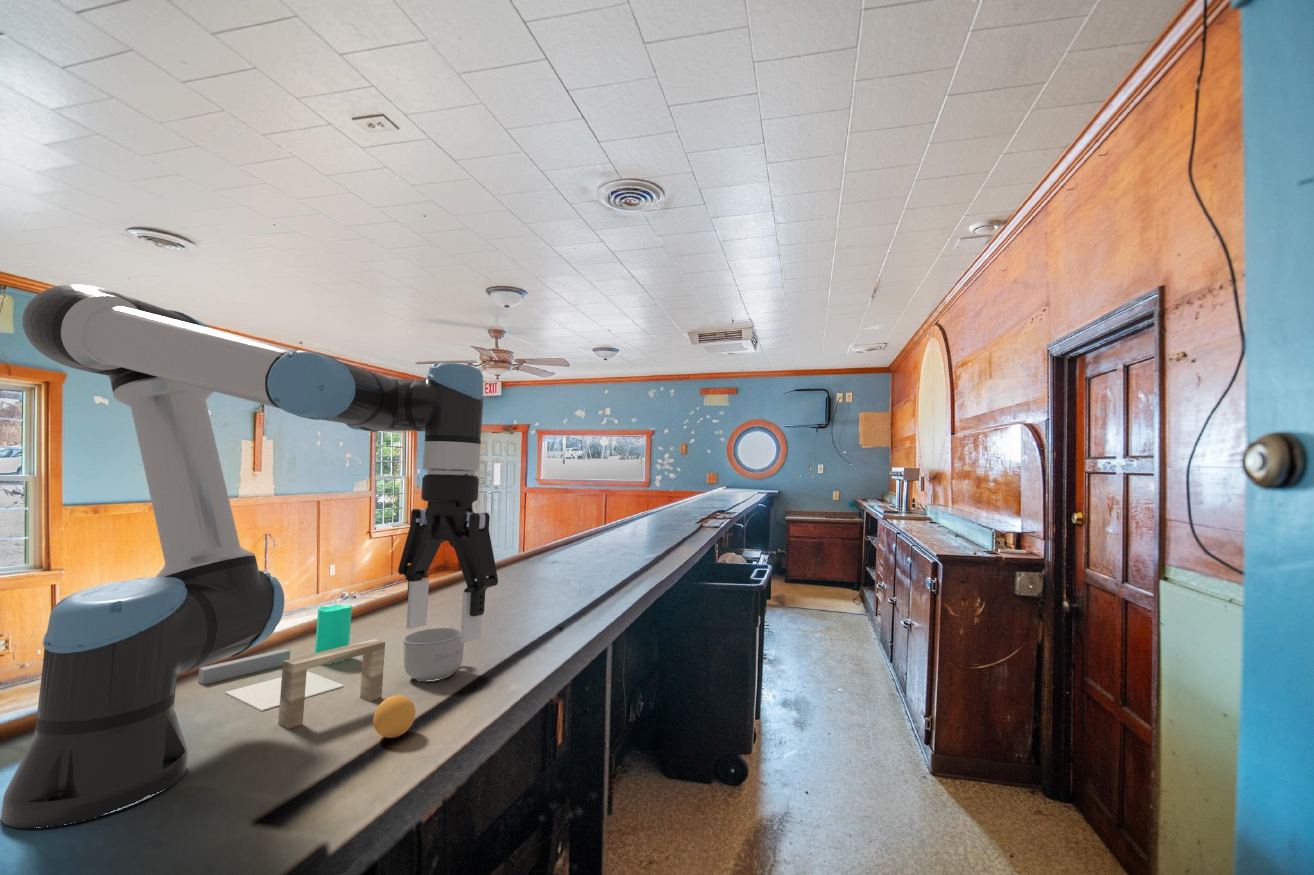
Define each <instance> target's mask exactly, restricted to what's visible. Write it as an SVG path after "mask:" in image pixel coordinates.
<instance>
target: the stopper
mask: <svg viewBox="0 0 1314 875" xmlns="http://www.w3.org/2000/svg"><path fill="white" fill-rule="evenodd" d="M288 659H291V650H289V649H287V648H284V649H279V650H274V651H270V652H266V653H261V654H256V655H251V656H248V657H242V658H238V659H234V660H229V661H224V662H220V663H216V664H209V665H206V666H203V667H200V668H198V669H199V670H198V680H197V681H198V682H197V683H198V684H201V685H207V684H212V683H215V682H220V681H223V680H228V679H233V678H237V677H240V676H245V675H249V674H253V673H257V672H261V671H265V670H269V669H274V668H278V667H281V666H282V667H283V661H284V660H288Z"/></svg>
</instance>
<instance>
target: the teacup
mask: <svg viewBox="0 0 1314 875" xmlns="http://www.w3.org/2000/svg"><path fill="white" fill-rule="evenodd" d="M460 639H461V627H460V628H459V627H454V626H453V625H446V626H442V627H432V628H426V629H421V630H418V631H414V632H411V633H409V634H407V635H405V636H404V637H403V638H402V642H403V665H404V670H405V673H406V674H407V675H408V676H410V677H411V678H413V679H414V680H415V679H417V680H420V681H427V680H435V679H441V678H444V677H447V678H449V677H450V676H449V675H451V674H452V675H453V674H454V673H455V672H456V671H457V670H458V669H459V668H460V666H462V663H463V660H464V646H465V645H464V644H465V643H462V642H460ZM452 675H451V676H452ZM448 676H449V677H448ZM417 680H416V681H417ZM420 681H419V682H420Z"/></svg>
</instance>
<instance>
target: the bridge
mask: <svg viewBox="0 0 1314 875" xmlns="http://www.w3.org/2000/svg"><path fill="white" fill-rule="evenodd" d="M385 648H386V641H383V640H380V639H376V638H373V639H370V640H366V641H361V642H357V643H353V644H349V645H347V646H343V647H339V648H335V649H331V650H326V651H322V652H318V653H315V652H314V653H309V654H306V655H301V656H298V657H293V658H290V659H288V660H284V661H283V665H282V669H281V670H282V671H281V677H282V681H281V694H280V706H278V708H279V709H278V721H277V725H280V726H281V727H283V728H285V729H287V730H289V729H292V728H296V727H299V726H301V725H303V724H304V714H305V713H304V712H305V700H306V698H305V687H306V674H307V671H308V670H310V669H313V668H317V667H320V666H324V665H330V664H329V663H333V662H337V661H341V660H344V659H347V660H348V659H353V658H355V657H356V658H357V657H359V656H362V661H361V662H362V664H361V675H360V676H361V677H360V690H359V691H360V692H359V698H361V699H363V700H366V701H368V702H373V701H375V699H376V700H378V698H379V699H381V698H380V697H382V694H383V683H384V682H383V680H384V665H385ZM372 700H373V701H372Z"/></svg>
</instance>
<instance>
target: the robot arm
mask: <svg viewBox="0 0 1314 875" xmlns="http://www.w3.org/2000/svg"><path fill="white" fill-rule="evenodd" d="M22 329H23V331H24V335H25V336H26V338H27V340H28V341H29V343H30V344H31V345H32V347H34V349H36V350H37V351H38V352H39V353H40V354H42V355H43V356H45V357H46V358H48V359H50V360H51V361H54V362H56V363H57V364H60V365H63V366H66V367H69V368H71V369H76V370H79V371H86V372H89V373H95V374H98V375H102V376H108V378H109V381H110V385H111V390H112V393H113V397H114V399H115V400H116V401H118V402H120V403H122V404H124V405H126V406H128V407H130V409H131V414H132V419H133V424H134V428H135V429H134V430H135V432H136V433H135V434H136V436H137V440H138V446H139V450H140V454H141V455H140V456H141V460H142V465H143V469H144V473H145V474H144V475H145V478H146V482H147V483H146V484H147V487H148V488H147V489H148V493H149V496H150V500H151V501H150V502H151V506H152V511H153V515H154V518H155V523H156V528H157V533H158V538H159V541H160V542H159V543H160V547H161V551H162V556H163V561H164V566H163V567H162V569H161V570H160V571H159V572H158V573H157V574H156V575H155V576H154V577H153V576H151V577H150V576H149V577H148V576H147V577H140V578H133V579H130V580H119V581H118V580H117V581H112V582H109V583H108V582H107V583H104V584H98V585H96V586H95V585H94V586H92V587H91V586H90V587H88V588H85V589H82V590H79V591H77V592H73V593H72V594H69V595H67V596H65V597H63V599H61V600H59V602H57V604H55V606H54V607H53V609H52V610H51V612H50V615H49V618H48V623H47V628H46V629H47V630H46V633H45V634H44V637H43V639H42V646H43V648H44V649H43V659H42V670H41V677H40V679H41V680H40V685H39V686H40V687H39V696H38V702H37V703H38V704H37V712H36V720H35V730H34V736H33V738H32V740H31V742H30V744H29V746H28V747H27V750H26V752H25V753H24V755H23V757H22V759H21V761H20V763H19V765H18V767H17V768H16V770H15V772H14V775H13V777H12V778H11V780H10V781H9V784H8V785H7V787H6V790H5V792H4V794H3V798H2V804H1V806H2V807H1V812H0V820H1V822H2V823H3V824H4V825H6V826H8V827H11V826H12V827H11V828H16V829H23V828H36V827H37V828H38V827H41V828H40V829H43V828H42V827H47V826H48V827H50V828H52V827H51V826H58V827H62V826H61V825H64V824H70V823H74V822H79V823H82V822H81V821H83V820H88V821H91V820H90V819H92V820H95V819H94V818H95V817H99V816H101V815H103V814H105V813H109V812H111V811H113V810H117V809H118V808H122V807H124V806H127V805H129V804H132V803H135V802H136V801H139V800H141V799H143V798H144V797H146V796H148V795H152V794H156V793H157V792H160V791H162V790H164V789H166V788H168V789H170V787H173V786H174V785H175V784H176V783H178V781H180V780H181V779H182V777H183V776H184V775H185V773H186V770H187V765H188V755H189V754H188V752H189V751H188V747H187V746H188V745H187V744H186V740H185V738H184V735H183V732H182V729H181V725H180V723H179V720H178V717H177V714H176V711H175V710H176V709H175V701H176V700H175V699H176V690H177V688H176V687H177V680H178V676H180V675H183V674H185V673H188V672H189V673H190V672H191V671H194V670H196V669H197V670H198V669H199V668H201V667H206V666H210V665H212V664H213V663H217V662H221V661H223V660H224V659H230V658H233V657H236V656H240V655H241V654H243V653H245V652H246V651H249V650H251V649H253V648H255V647H258V646H259V645H260V644H263V642H265V641H266V640H267V639H268V638H269V637H271V636H272V635H273V633H274V632H275V630H276V629H277V628H276V627H278V625H279V624H280V622H281V619H282V617H283V614H284V610H285V593H284V590H283V589H284V588H283V586H282V584H281V583H280V581H279V580H278V579H277V577H275V576H272V574H271V573H270V572H267V571H265V570H262V569H259V566H258V562H257V557H256V554H255V553H254V552H251V551H250V550H248V549H245V548H244V547H242V546H241V545H240V541H239V536H238V532H237V527H236V524H235V519H234V515H233V511H232V508H231V506H232V505H231V502H230V499H229V493H228V490H227V489H228V488H227V485H226V481H225V476H224V472H223V468H222V463H221V459H220V457H219V456H220V455H219V451H218V446H217V442H216V439H215V435H214V430H213V424H212V421H211V416H210V412H209V409H208V404H207V399H208V398H210V396H211V395H212V394H214V392H215V393H219V394H221V395H222V394H223V395H226V396H231V397H234V398H238V399H243V400H245V401H250V402H253V403H257V404H261V405H266V406H269V407H272V408H276V409H279V410H280V409H281V410H282V411H284V412H286V413H289V414H291V415H294V416H297V417H300V418H303V419H304V418H305V419H309V420H313V421H314V420H315V421H320V420H321V421H326V422H328V421H329V422H334V423H341V424H345V425H346V427H348V428H349V429H353V430H356V431H357V430H358V431H366V432H372V433H379V432H385V431H386V432H388V431H389V432H415V431H416V432H424V443H423V445H424V446H423V454H422V455H423V456H422V457H423V458H422V469H423V471H426V473H427V474H424V475H423V476H422V478H421V494H420V495H421V496H420V497H421V500H423V501H424V502H427V507H426V508H413V509H411V512H410V525H409V529H408V533H407V536H406V540H405V543H404V546H403V547H404V548H403V550H402V554H401V558H400V561H399V565H398V568H397V569H398V570H397V572H398V574H399V575H404V577H405V579H406V581H407V593H406V594H407V595H406V600H407V611H406V613H407V614H406V629H408V630H412V629H416V628H420V627H424V626H425V627H426V626H427V624H428V622H427V621H428V604H429V590H430V589H429V586H430V579H427V578H429V577H430V575H429V574H428V572H429V569H430V567H431V565H432V563H433V561H434V559H435V557H436V554H438V551H439V549H440V547H441V544H442V543H443V542H448V543H449V545H450V547H452V548H453V549H454V552H455V555H456V558H457V561H458V563H459V567H460V569H461V573H462V575H463V578H464V581H465V583H466V588H465V589H463V591H462V603H461V604H462V605H461V620H460V621H461V622H460V623H461V624H460V629H461V639H460V642H462V643H464V644H465V643H469V642H472V641H475V640H479V639H481V638H482V636H481V634H482V619H483V618H482V617H483V616H484V613H485V602H486V591H487V589H488V588H491V587H495V586H497V585H498V583H499V577H498V573H497V567H496V563H495V562H496V561H495V557H494V551H493V550H494V549H493V546H492V539H491V534H490V520H491V518H490V513H488V512H474V509H473V503H474V502H477V501H478V498H479V486H480V478H479V476H477V475H475V474H476V473H477V472H479V471H480V462H481V459H480V458H481V442H482V440H481V438H482V437H481V436H482V426H483V424H482V422H483V408H484V402H485V398H484V376H483V373H482V371H481V369H479V368H476V367H475V366H472V365H469V364H463V363H457V362H440V363H434V364H432V365H430V367H429V369H428V374H427V375H426V376H427V378H421V379H409V378H408V379H406V378H405V379H403V378H401V379H400V378H391V377H388V376H385V375H382V374H379V373H376V372H374V371H370V370H367V369H364V368H361V367H357V366H354V365H352V364H349V363H347V362H343V361H341V360H338V359H337V358H335V357H332V356H330V355H326V354H323V353H320V352H315V351H314V352H313V351H308V350H298V349H294V348H290V347H288V346H287V347H286V346H283V345H279V344H275V343H272V342H271V343H270V342H267V341H262V340H258V339H254V338H250V337H246V336H243V335H238V334H234V333H230V332H227V331H222V330H219V329H216V328H212V327H211V326H209V325H208V324H206V323H204V322H203V321H200V320H198V319H195V318H193V317H192V316H190V315H187V314H185V313H184V312H180V311H177V310H170V309H166V308H164V307H160V306H157V305H155V304H151V303H148V302H146V301H142V300H139V299H135V298H133V297H130V296H127V295H125V294H121V293H118V292H116V291H114V290H109V289H107V288H103V287H98V286H93V285H86V284H62V285H57V286H52V287H50V288H47V289H44V290H42V291H41V292H39V293H38V294H35V296H34V297H33V298H31V300H30V301H29V302H28V303H27V304H26V306H25V308H24V310H23V315H22ZM166 790H167V789H166ZM99 818H100V817H99ZM70 825H71V824H70ZM64 826H65V825H64Z"/></svg>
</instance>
